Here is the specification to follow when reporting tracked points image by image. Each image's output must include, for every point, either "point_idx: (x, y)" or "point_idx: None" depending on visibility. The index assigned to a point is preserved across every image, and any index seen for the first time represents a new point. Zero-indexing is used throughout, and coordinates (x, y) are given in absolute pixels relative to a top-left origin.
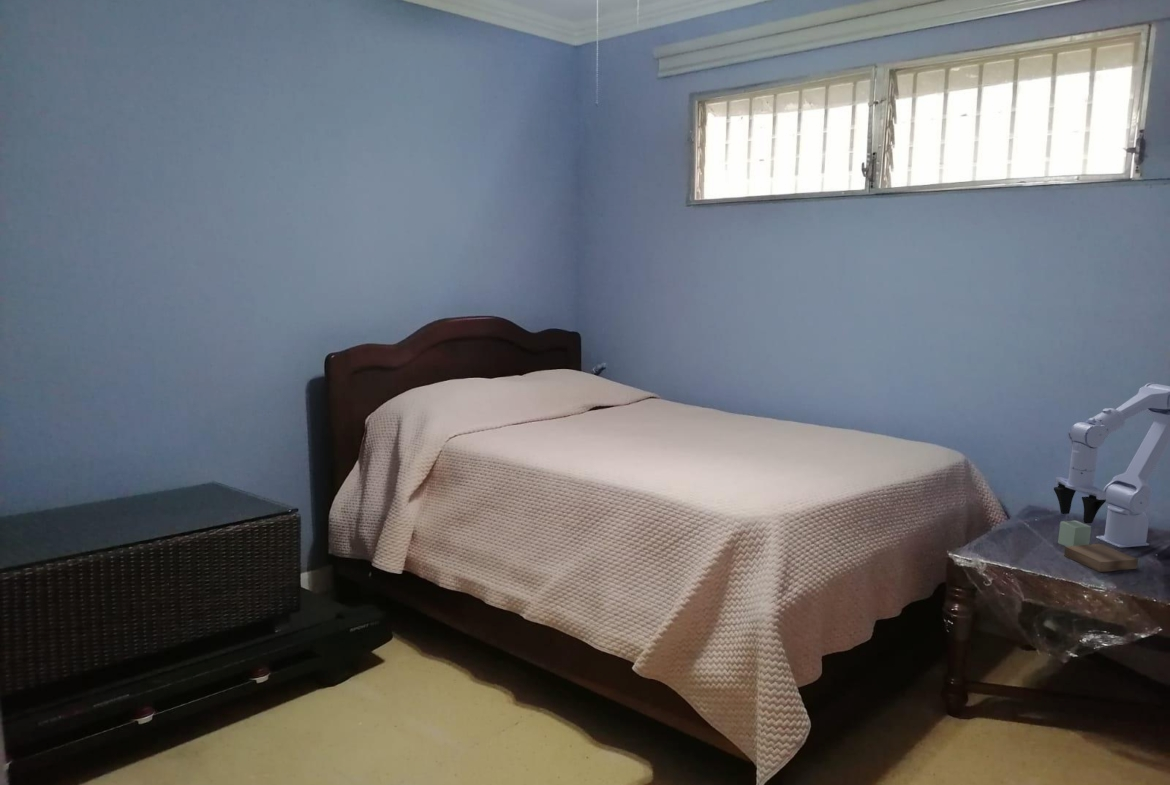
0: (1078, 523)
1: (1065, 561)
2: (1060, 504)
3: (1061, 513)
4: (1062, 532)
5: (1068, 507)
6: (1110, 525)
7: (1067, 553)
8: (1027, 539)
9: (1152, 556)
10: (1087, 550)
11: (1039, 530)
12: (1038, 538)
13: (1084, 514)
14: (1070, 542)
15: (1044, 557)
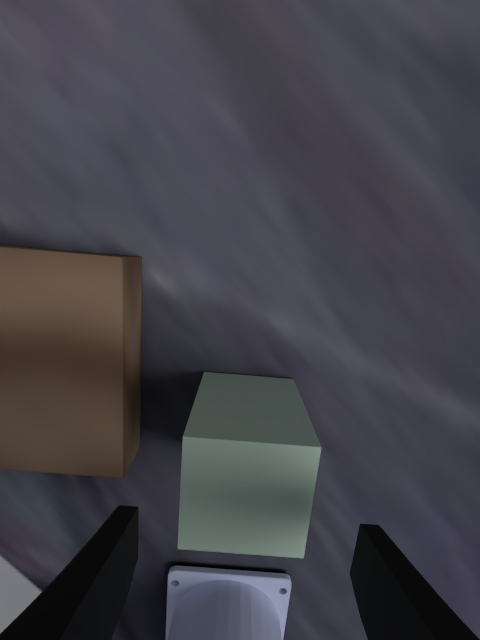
0: (251, 526)
1: (85, 205)
2: (433, 608)
3: (373, 525)
4: (282, 408)
5: (377, 633)
6: None
7: (115, 255)
8: (389, 282)
9: None
10: (43, 326)
11: (455, 441)
12: (378, 348)
13: (88, 572)
14: (220, 386)
15: (155, 141)
